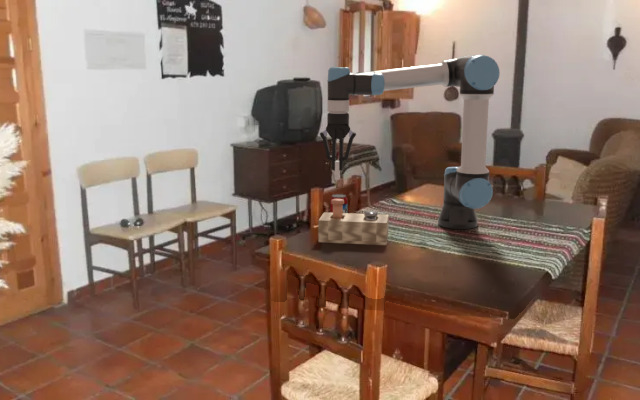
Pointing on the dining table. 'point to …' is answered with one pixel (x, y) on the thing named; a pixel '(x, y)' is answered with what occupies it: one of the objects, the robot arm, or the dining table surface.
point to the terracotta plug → (337, 208)
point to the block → (353, 229)
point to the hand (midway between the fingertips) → (337, 179)
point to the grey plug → (370, 215)
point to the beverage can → (345, 205)
